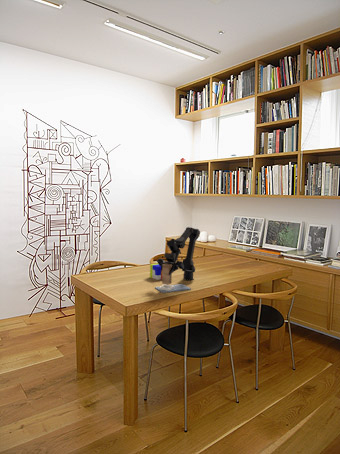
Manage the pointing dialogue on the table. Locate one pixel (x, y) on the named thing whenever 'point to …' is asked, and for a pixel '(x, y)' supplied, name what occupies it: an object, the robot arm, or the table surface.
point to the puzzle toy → (156, 271)
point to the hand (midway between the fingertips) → (166, 274)
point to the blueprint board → (176, 287)
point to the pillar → (166, 274)
